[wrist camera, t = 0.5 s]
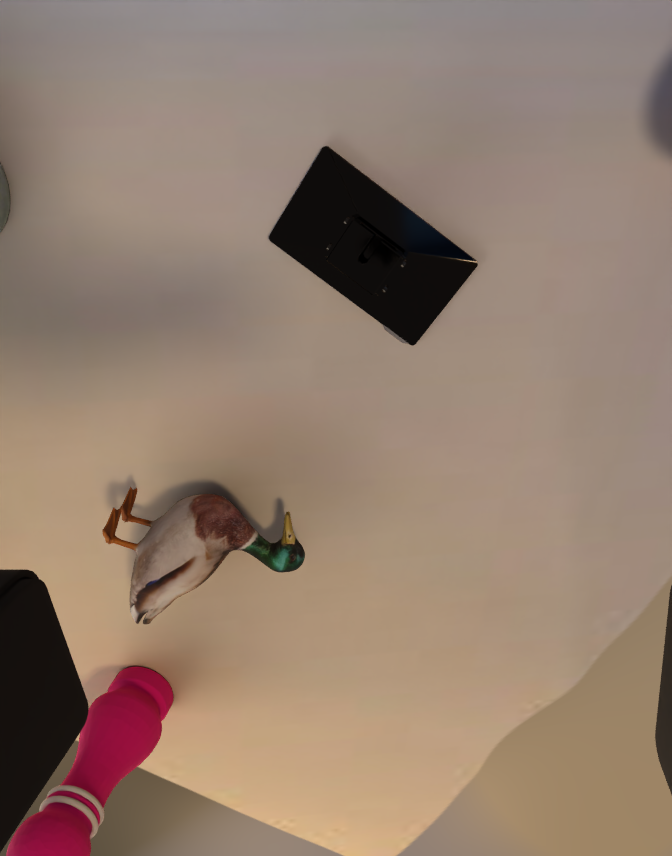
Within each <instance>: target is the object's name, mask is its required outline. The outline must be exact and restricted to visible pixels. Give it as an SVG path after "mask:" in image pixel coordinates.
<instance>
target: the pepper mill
mask: <svg viewBox="0 0 672 856" xmlns="http://www.w3.org/2000/svg"><path fill="white" fill-rule="evenodd" d="M172 703H173V692H172V688H171V687H170V685H169V683H168V682H167V681H166V680H165V679H164V678H163V677H162V676H161V675H159V674H158V673H157V672H155V671H153V670H150V669H148V668H144V667H129V668H126V669H124V670H122V671H121V672H119V673H118V675H117V676H116V678H115V679H114V681H113V682H112V684H111V685H110V687H109V689H108V692H107V693H105V694H103V695H101V696H100V697H98V698H97V699H96V700H95V701H94V702H93V703H92V705H91V706H90V708H89V710H88V716H87V720H86V723H85V725H84V727H83V729H82V730H81V732H80V738H79V745H78V750H77V756H76V758H75V761H74V764H73V767H72V768H71V770H70V772H69V773H68V775H67V777H66V778H65V780H64V781H63V782H62V784H61V785H60V786H57V787H54V788H53V789H52V790H50V792H49V793H48V795H47V798H46V799H45V800H44V801H43V802H42V804H41V806H40V812H39V813H36V814H34V815H32V816H31V817H29V818H27V820H25V821H24V822H23V823H22V824H21V826H20V827H19V828H18V829H17V830H16V832H15V834H14V836H13V838H12V840H11V842H10V844H9V846H8V850H7V854H6V856H90V852H91V843H90V839H91V838H92V837H93V836H95V834H96V833H97V831H98V826H99V825H100V824H101V823H102V822H103V819H104V810H103V807H104V805H105V803H106V800H107V798H108V797H109V795H110V793H111V791H112V790H113V788H114V787H115V786H116V785H117V784H118V782H119V781H120V780H121V779H123V778H124V777H125V776H126V775H127V774H128V773H130V772H131V771H132V770H133V769H135V768H136V767H137V766H139V765H140V764H141V763H142V762H143V761H144V760H145V759H146V758H147V757H148V756H149V755H150V753H151V752H152V751H153V749H154V748H155V746H156V745H157V743H158V741H159V739H160V736H161V732H162V723H161V721H162V720H163V719H164V718H165V717H166V715H167V713H168V711H169V709H170V707H171V705H172Z"/></svg>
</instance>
